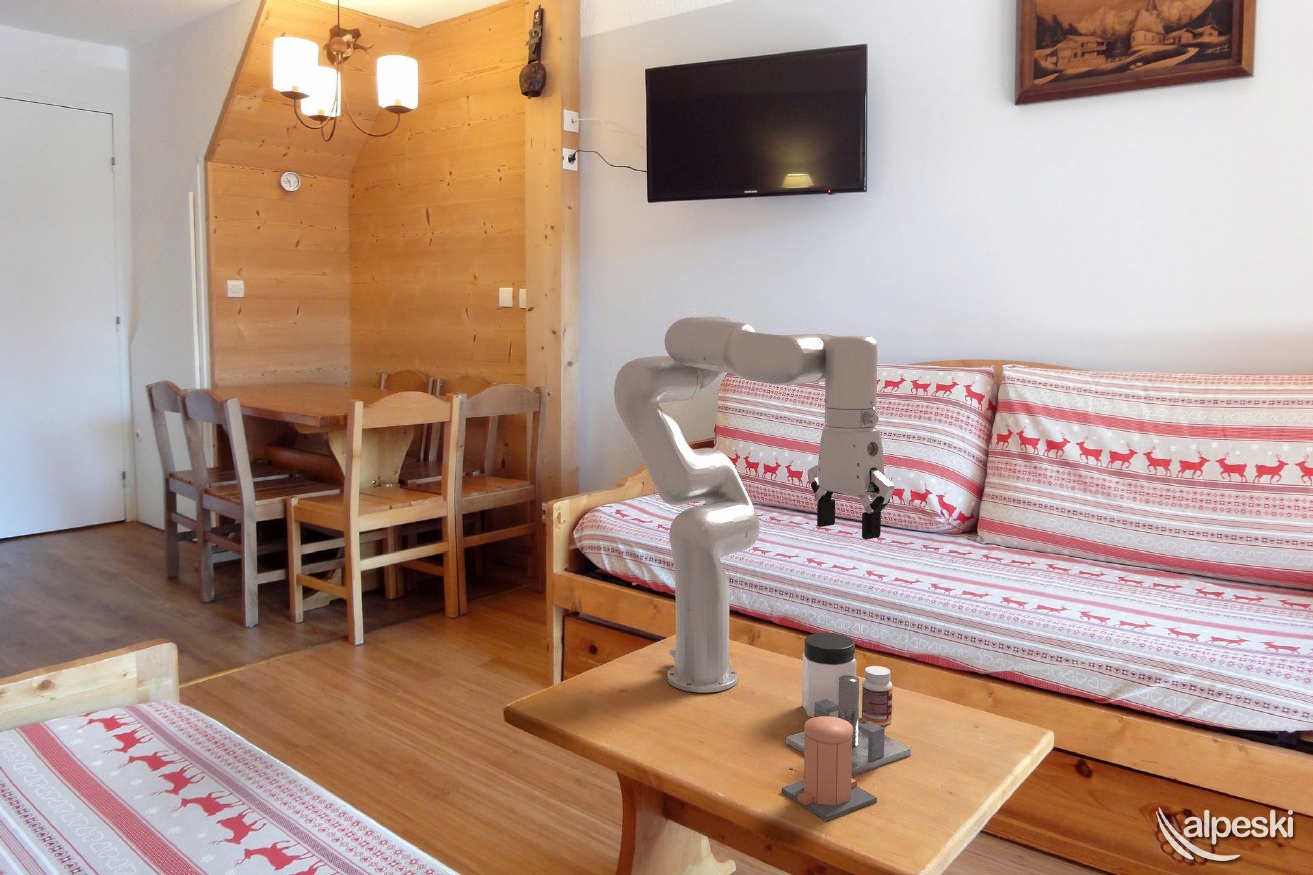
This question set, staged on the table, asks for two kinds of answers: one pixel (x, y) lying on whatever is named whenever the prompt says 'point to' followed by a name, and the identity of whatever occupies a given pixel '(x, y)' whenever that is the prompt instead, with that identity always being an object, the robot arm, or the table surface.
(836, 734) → the salmon domed faceted piece
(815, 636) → the jar
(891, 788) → the table surface
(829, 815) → the coaster
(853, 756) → the pegged base plate
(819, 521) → the robot arm
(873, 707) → the pill bottle
